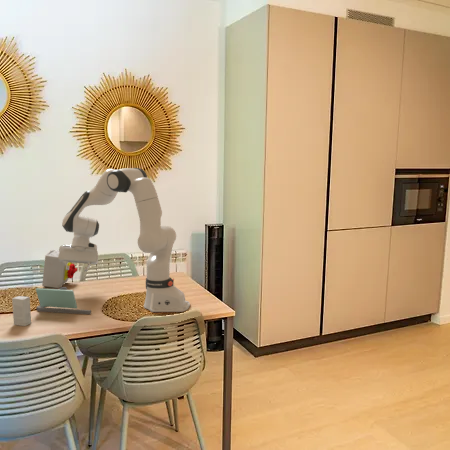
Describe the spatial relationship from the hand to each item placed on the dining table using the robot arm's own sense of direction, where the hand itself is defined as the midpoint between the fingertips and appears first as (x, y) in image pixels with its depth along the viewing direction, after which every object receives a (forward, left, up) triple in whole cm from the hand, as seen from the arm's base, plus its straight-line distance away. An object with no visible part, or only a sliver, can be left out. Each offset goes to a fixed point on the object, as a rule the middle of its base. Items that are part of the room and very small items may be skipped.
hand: (76, 270), depth 243 cm
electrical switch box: (+17, -16, -14) cm, 28 cm away
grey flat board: (-5, +21, -13) cm, 25 cm away
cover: (-3, +27, -6) cm, 27 cm away
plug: (+1, +13, -13) cm, 19 cm away
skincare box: (+5, +43, -14) cm, 45 cm away
